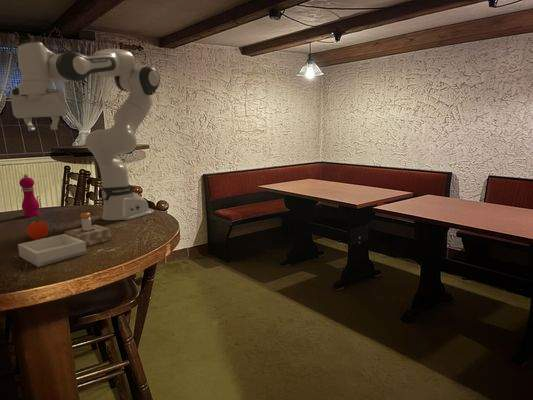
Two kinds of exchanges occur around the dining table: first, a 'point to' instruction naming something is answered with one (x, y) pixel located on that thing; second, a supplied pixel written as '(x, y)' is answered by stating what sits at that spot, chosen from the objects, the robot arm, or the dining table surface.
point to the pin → (86, 222)
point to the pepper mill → (29, 197)
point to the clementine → (37, 230)
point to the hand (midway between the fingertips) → (43, 130)
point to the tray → (51, 249)
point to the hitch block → (91, 235)
